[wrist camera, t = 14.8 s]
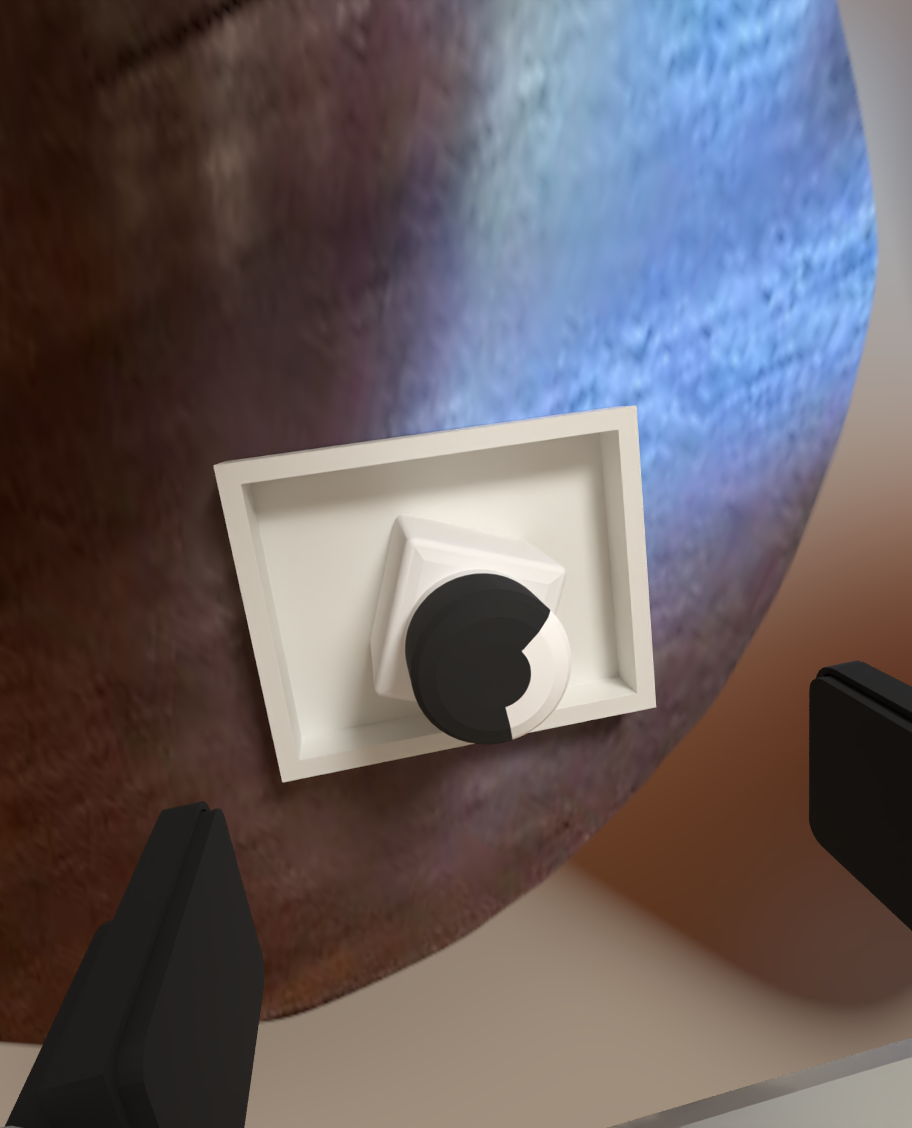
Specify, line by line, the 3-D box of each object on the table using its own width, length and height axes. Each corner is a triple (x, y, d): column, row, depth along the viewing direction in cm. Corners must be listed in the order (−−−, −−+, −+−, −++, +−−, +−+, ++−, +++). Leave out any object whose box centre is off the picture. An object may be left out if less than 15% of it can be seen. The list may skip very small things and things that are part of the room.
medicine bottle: (368, 642, 35) (378, 754, 23) (395, 512, 34) (420, 561, 22) (496, 664, 36) (565, 779, 25) (527, 539, 35) (615, 598, 23)
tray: (225, 461, 32) (213, 465, 29) (612, 406, 35) (636, 405, 32) (287, 753, 36) (282, 782, 33) (632, 685, 38) (656, 707, 36)
